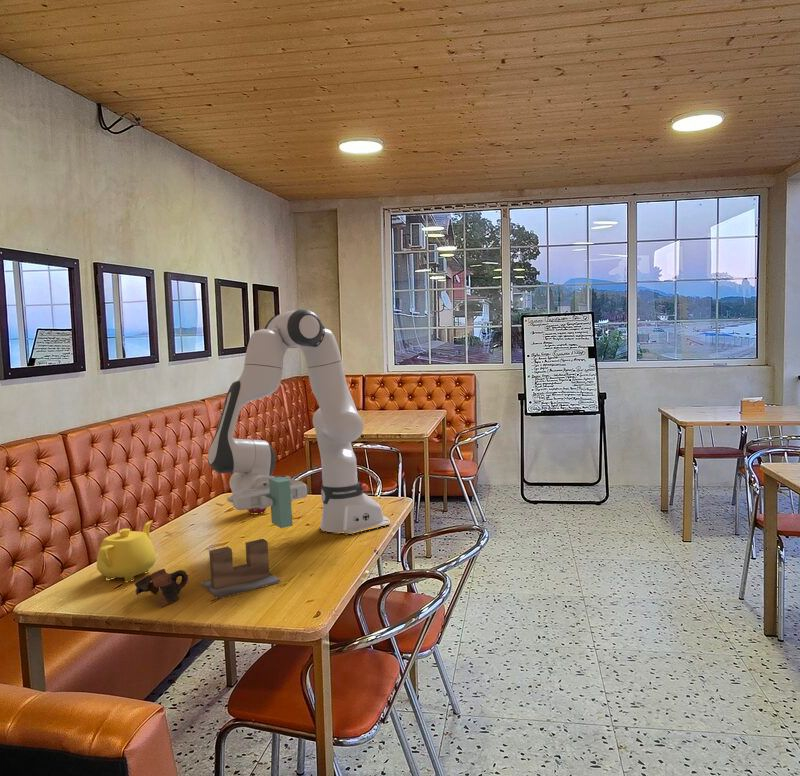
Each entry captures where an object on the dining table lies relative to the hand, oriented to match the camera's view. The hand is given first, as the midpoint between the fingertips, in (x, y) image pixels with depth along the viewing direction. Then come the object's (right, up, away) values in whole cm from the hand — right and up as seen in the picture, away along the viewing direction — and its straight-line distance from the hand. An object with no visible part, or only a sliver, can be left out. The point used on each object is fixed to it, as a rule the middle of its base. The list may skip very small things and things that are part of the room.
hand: (281, 500), depth 169 cm
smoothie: (-20, -15, +61) cm, 66 cm away
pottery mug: (-26, -21, -14) cm, 36 cm away
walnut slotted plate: (-9, -20, -6) cm, 22 cm away
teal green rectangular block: (0, -6, +1) cm, 7 cm away
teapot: (-41, -20, +4) cm, 46 cm away
